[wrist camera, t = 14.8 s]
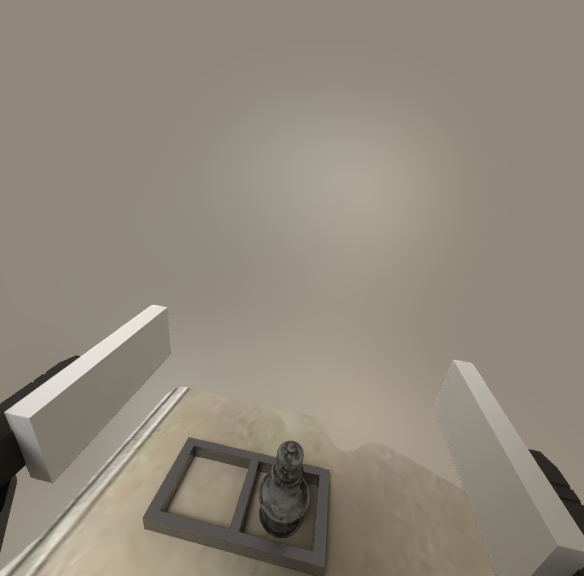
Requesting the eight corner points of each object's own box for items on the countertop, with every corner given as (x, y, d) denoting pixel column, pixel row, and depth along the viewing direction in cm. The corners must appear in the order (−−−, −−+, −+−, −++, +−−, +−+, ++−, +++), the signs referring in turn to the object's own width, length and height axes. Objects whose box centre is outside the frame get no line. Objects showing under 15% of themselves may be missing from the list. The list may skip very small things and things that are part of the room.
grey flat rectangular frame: (327, 479, 38) (329, 470, 38) (322, 577, 29) (325, 567, 28) (189, 447, 40) (188, 437, 40) (144, 528, 31) (142, 518, 31)
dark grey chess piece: (246, 518, 33) (251, 448, 28) (275, 476, 38) (283, 409, 33) (289, 554, 31) (303, 483, 26) (314, 504, 35) (330, 436, 31)
